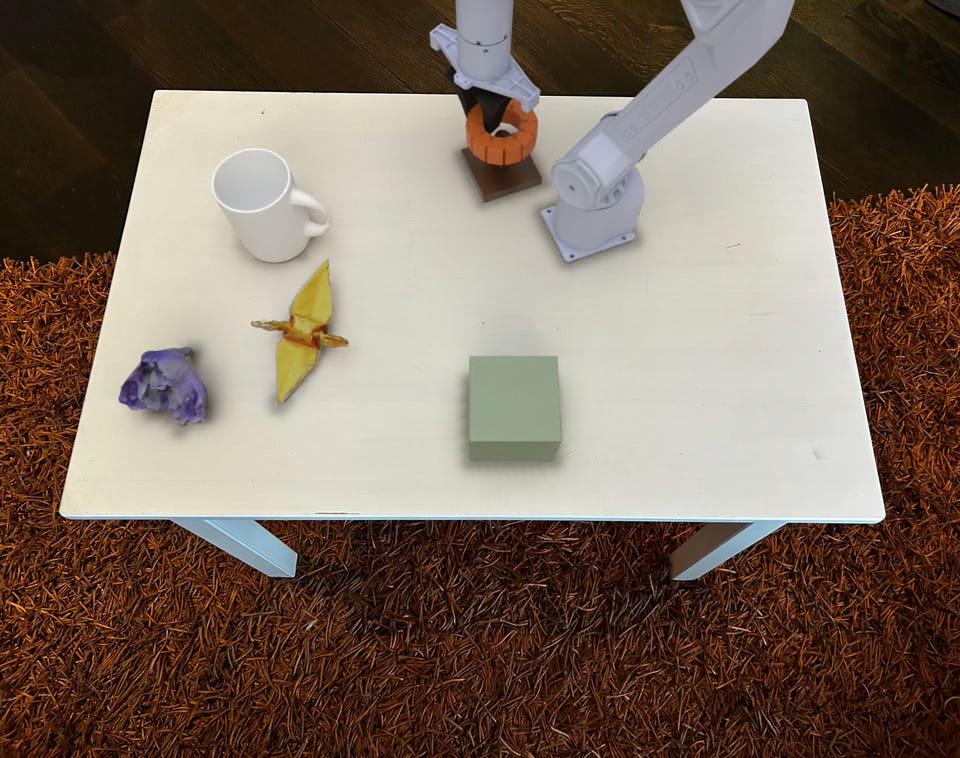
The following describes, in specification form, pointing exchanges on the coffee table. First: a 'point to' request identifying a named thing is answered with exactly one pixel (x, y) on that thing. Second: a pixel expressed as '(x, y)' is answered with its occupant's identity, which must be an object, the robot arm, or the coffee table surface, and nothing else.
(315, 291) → the origami crane
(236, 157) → the mug
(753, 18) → the robot arm
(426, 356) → the coffee table surface
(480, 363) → the block
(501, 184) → the stand
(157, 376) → the purple lumpy chunk
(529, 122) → the ring
